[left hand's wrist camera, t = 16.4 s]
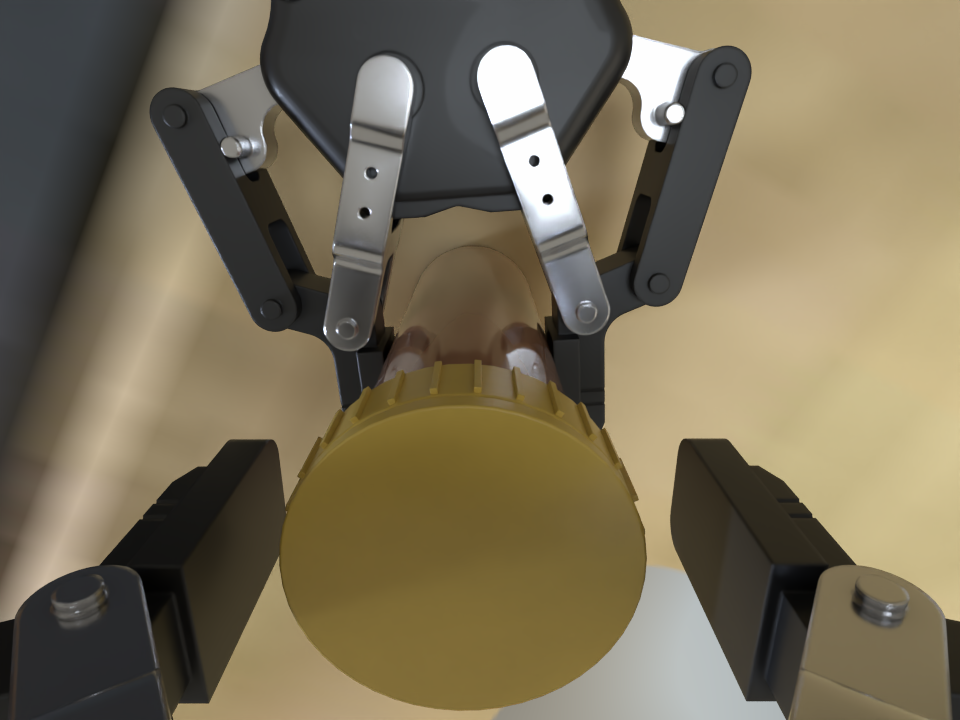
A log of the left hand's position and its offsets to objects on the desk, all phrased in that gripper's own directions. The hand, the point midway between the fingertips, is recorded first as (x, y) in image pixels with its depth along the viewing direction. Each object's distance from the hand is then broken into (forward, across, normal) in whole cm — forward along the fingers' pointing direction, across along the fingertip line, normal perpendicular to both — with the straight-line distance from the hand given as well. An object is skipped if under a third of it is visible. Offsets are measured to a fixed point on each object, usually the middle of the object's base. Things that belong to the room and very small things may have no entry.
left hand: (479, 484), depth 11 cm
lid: (-2, 0, 0) cm, 2 cm away
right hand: (+6, 0, -3) cm, 7 cm away
